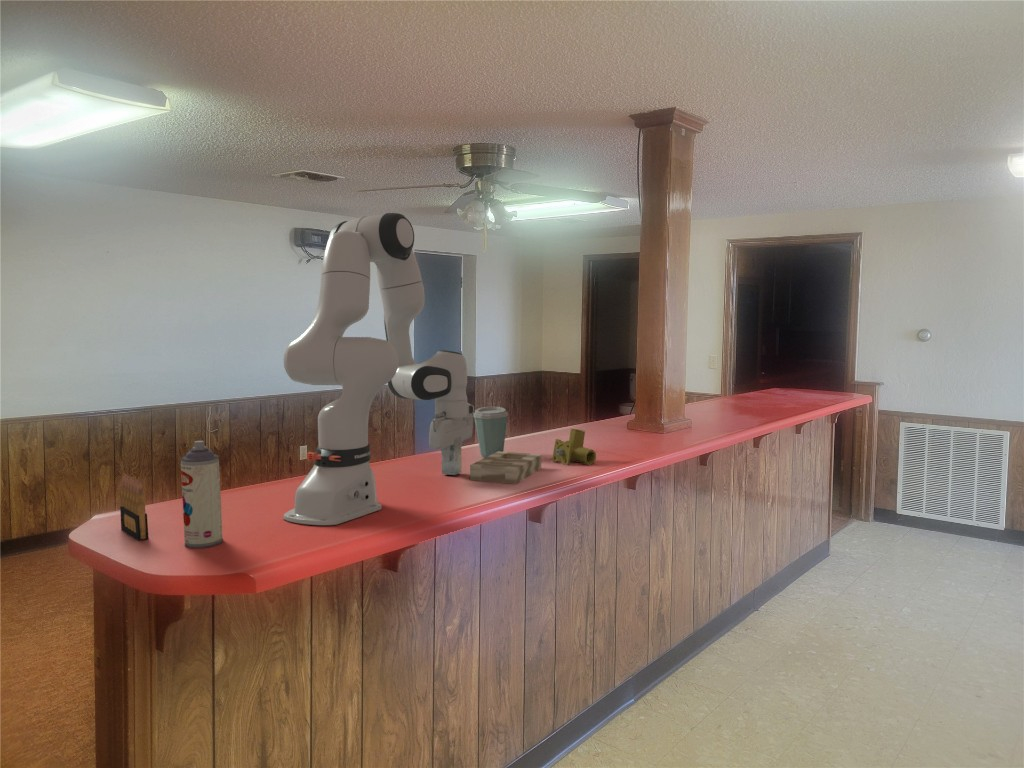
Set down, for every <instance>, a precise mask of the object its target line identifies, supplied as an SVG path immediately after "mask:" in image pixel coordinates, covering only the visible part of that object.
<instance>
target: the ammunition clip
mask: <svg viewBox="0 0 1024 768" xmlns="http://www.w3.org/2000/svg"><path fill="white" fill-rule="evenodd" d="M120 499H121V501H120V502H121V505H120V507H119V509H120V510H119V511H120V530H121V531H122V532H123V533H125V534H127V535H128V536H130V537H131V538H133V539H135V540H137V541H138V542H140V541H145V540H149V539H150V537H149V525H148V513H146V501H145V496H144V488H143V483H142V482H141V479H138V478H135V477H134V476H131V475H129V474H126V473H125V472H123V473H122V477H121V492H120Z"/></svg>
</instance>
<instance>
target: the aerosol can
mask: <svg viewBox="0 0 1024 768" xmlns="http://www.w3.org/2000/svg"><path fill="white" fill-rule="evenodd" d="M180 470H181V471H180V475H181V494H182V495H181V496H182V515H183V530H184V531H183V535H184V547H186V548H189V549H204V548H205V549H206V548H211V547H214V546H218V545H219V544H222V543H223V540H224V539H223V519H222V518H223V517H222V497H221V496H222V495H221V493H222V492H221V475H220V472H221V471H220V470H221V469H220V459H219V455H217V454H215V453H214V452H213V450H211V449H209V447H207V446H206V445H205V441H204V440H195V441H194V445H193V447H192V448H191V449H190V450H189V451H188V452H186V454H185V455H184V456H183V457H181V461H180Z"/></svg>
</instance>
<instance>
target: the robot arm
mask: <svg viewBox="0 0 1024 768" xmlns="http://www.w3.org/2000/svg"><path fill="white" fill-rule="evenodd" d="M414 245H415V233H414V227H413V225H412V223H411V222H410V220H409V219H408V218H407V217H406V216H405V215H403V214H402V213H397V212H387V213H385V214H375V215H365V216H359V217H357V218H352V219H351V220H344V221H342V222H340V223H339V222H338V224H336V225H335V226H333V227H332V228H331V230H330V232H329V235H328V239H327V242H326V246H325V250H324V253H323V258H322V266H321V277H320V289H319V296H318V297H319V298H318V303H317V304H318V305H317V307H316V312H315V315H314V316H313V318H312V321H311V323H310V324H309V325H308V326H307V328H306V329H305V330H304V332H303V333H302V334H300V335H299V336H298V337H297V338H294V340H292V341H291V342H290V343H289V344H288V345H287V347H286V348H285V351H284V354H283V367H284V371H285V373H286V374H287V376H288V377H289V378H290V380H291V381H293V382H294V383H295V382H296V383H301V384H304V385H305V384H306V385H310V386H341V387H342V392H341V396H340V397H338V398H336V399H335V400H333V401H331V402H330V403H327V404H326V405H324V406H323V407H322V408H321V409H320V411H319V413H318V414H317V415H318V416H317V435H318V436H317V438H318V439H317V440H318V445H317V447H316V451H315V452H312V451H308V452H307V454H306V457H305V458H306V460H307V461H308V462H313V464H314V465H313V467H312V468H311V470H310V471H309V472H308V474H307V475H306V476H305V478H304V479H303V480H302V482H301V483H300V484H299V486H298V487H297V488H296V491H295V494H294V495H295V496H294V508H291V509H290V510H288V511H287V512H285V513H283V518H282V519H283V520H285V521H287V522H290V523H294V524H295V523H296V524H302V525H309V526H310V525H312V526H335V525H336V526H337V525H339V524H343V523H345V522H349V521H351V520H354V519H358V518H360V517H363V516H366V515H369V514H371V513H374V512H377V511H381V510H382V504H381V503H380V502H378V496H377V486H376V485H377V484H376V477H375V473H374V471H373V469H372V468H371V464H370V460H371V451H372V450H371V446H370V444H369V436H368V435H369V416H370V415H369V414H370V411H371V410H370V409H371V407H372V406H371V405H372V404H373V401H374V399H375V397H376V396H377V394H378V393H379V392H380V390H381V389H382V388H383V387H384V386H386V385H388V387H389V390H390V392H391V393H392V394H393V395H394V396H395V397H397V398H399V399H403V400H405V399H406V400H407V399H410V400H417V401H418V400H419V401H431V400H434V418H432V420H431V422H430V425H429V434H428V445H429V448H430V449H432V450H440V452H441V456H442V455H443V462H450V461H451V455H450V453H449V450H450V446H451V445H454V439H455V438H457V437H460V436H461V448H462V447H463V446H462V445H463V442H464V441H466V440H470V439H471V438H472V436H473V432H474V431H473V430H474V417H473V414H474V413H475V406H474V405H472V404H471V403H469V402H468V396H467V386H468V369H467V362H466V361H467V360H466V358H465V356H464V354H463V353H460V352H459V351H458V352H457V351H452V350H444V349H443V350H442V349H441V350H437V351H436V353H435V354H434V355H433V356H431V357H429V359H427V360H425V361H422V362H421V363H417V362H416V361H415V359H414V358H413V353H412V345H411V337H410V327H411V323H412V322H413V320H414V319H416V317H418V315H420V314H421V312H422V311H423V309H424V307H425V304H426V298H425V297H426V296H425V295H426V294H425V287H424V284H423V283H424V282H423V279H422V278H423V277H422V273H421V270H420V267H419V264H418V260H417V258H416V255H415V253H414V251H413V248H414ZM371 263H374V264H375V266H376V275H377V280H378V281H377V283H378V287H379V292H380V296H381V301H382V308H383V322H384V323H383V324H384V325H383V326H384V331H385V332H384V333H385V339H381V338H375V337H371V336H369V337H368V336H355V337H354V336H343V335H344V333H345V332H346V330H347V329H348V328H349V327H351V326H352V325H354V324H356V323H358V322H360V321H361V320H362V319H364V318H365V316H366V315H367V313H368V311H369V309H370V308H369V307H370V293H371V292H370V287H371Z"/></svg>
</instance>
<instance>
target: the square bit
mask: <svg viewBox="0 0 1024 768" xmlns="http://www.w3.org/2000/svg"><path fill="white" fill-rule="evenodd" d="M449 453H450V455H451V461H450V462H443V455H442V454H441V474H442V475H449V476H457V475H458V474H461V473H462V447H461V436H460V437H457V438H455V439H454V445H451V446H450V450H449Z"/></svg>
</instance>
